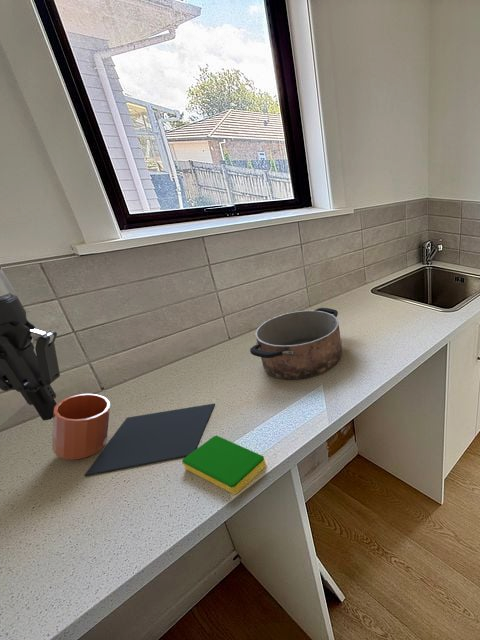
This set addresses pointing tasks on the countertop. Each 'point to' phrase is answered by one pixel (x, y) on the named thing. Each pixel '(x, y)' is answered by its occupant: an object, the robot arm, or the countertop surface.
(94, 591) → the countertop surface
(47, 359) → the robot arm
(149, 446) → the mat
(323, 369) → the cooking pot
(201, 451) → the dish sponge
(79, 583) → the countertop surface
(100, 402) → the cup
